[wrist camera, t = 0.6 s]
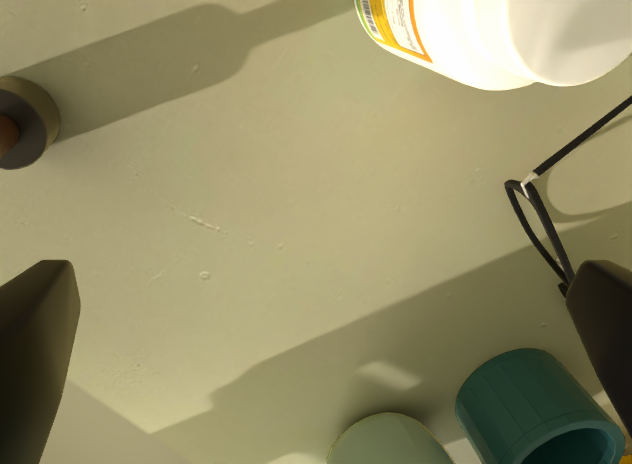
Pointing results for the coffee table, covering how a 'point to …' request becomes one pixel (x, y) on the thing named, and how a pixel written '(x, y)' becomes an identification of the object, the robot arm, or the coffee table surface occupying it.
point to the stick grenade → (25, 122)
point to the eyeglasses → (531, 194)
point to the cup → (388, 442)
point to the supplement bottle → (504, 38)
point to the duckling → (626, 459)
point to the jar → (534, 414)
